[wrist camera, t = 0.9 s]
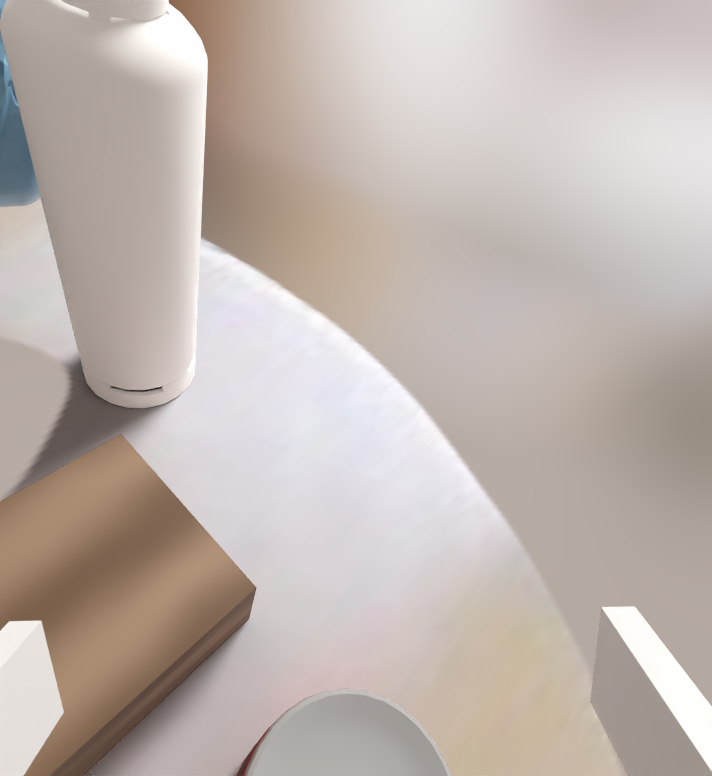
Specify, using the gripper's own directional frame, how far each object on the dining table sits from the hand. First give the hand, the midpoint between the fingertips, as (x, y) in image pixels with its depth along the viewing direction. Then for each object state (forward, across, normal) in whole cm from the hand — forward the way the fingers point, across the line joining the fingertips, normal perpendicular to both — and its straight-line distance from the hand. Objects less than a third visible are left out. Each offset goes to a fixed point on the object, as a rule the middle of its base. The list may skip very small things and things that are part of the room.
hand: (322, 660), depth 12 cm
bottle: (+28, -16, +1) cm, 33 cm away
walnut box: (+13, -15, -10) cm, 23 cm away
